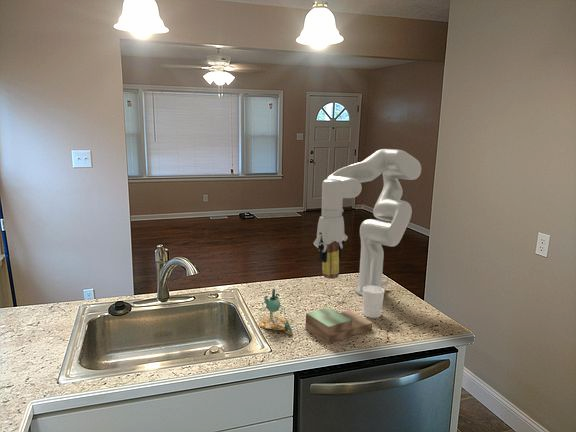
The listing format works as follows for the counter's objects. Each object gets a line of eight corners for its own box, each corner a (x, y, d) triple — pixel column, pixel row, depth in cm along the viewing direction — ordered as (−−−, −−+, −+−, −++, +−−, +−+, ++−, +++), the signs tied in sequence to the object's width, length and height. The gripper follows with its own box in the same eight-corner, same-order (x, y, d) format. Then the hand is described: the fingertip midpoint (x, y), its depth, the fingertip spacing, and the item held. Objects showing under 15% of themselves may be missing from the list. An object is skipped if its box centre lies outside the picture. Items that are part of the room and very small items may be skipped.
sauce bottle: (338, 273, 165) (340, 223, 160) (338, 279, 159) (340, 227, 154) (321, 273, 165) (322, 223, 161) (321, 278, 159) (322, 227, 155)
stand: (348, 316, 158) (349, 301, 157) (372, 329, 149) (373, 313, 148) (305, 329, 147) (306, 313, 146) (327, 343, 138) (328, 326, 136)
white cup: (365, 319, 156) (367, 293, 155) (358, 310, 164) (359, 285, 162) (385, 318, 158) (387, 292, 156) (377, 309, 166) (379, 285, 164)
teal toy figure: (273, 341, 139) (272, 296, 137) (250, 324, 154) (248, 284, 153) (299, 334, 143) (297, 291, 142) (274, 319, 159) (272, 280, 157)
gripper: (342, 208, 165) (341, 253, 168) (306, 214, 155) (306, 261, 159) (356, 212, 159) (354, 258, 162) (319, 217, 149) (318, 266, 153)
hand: (330, 259), depth 161 cm, fingers closed on sauce bottle, 6 cm apart
